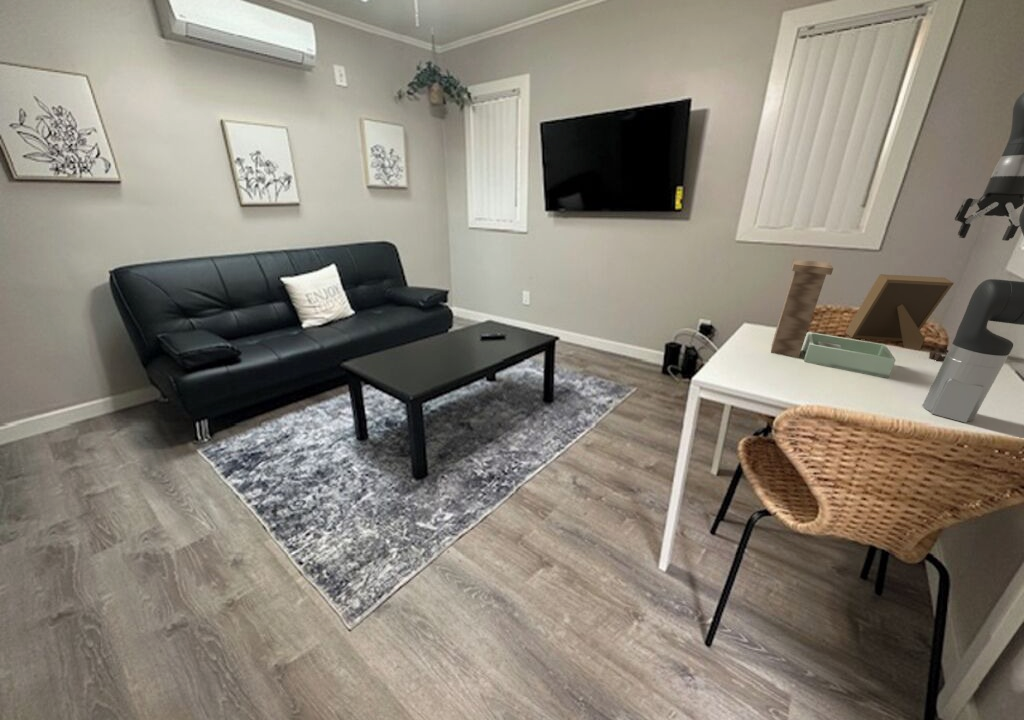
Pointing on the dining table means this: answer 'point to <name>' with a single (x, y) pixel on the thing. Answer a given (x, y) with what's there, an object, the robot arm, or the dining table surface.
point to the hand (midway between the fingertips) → (982, 239)
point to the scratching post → (799, 306)
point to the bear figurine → (938, 355)
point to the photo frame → (898, 308)
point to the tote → (849, 355)
